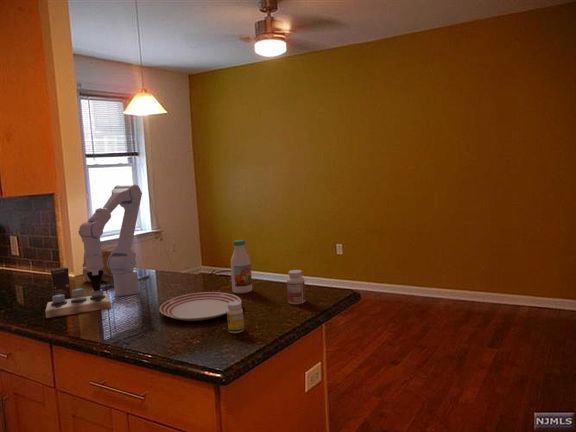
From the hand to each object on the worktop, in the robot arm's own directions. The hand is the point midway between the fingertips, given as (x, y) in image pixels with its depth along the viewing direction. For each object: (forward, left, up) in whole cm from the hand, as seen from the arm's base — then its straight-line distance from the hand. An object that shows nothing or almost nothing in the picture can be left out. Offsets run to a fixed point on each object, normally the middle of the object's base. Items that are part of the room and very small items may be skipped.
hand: (97, 290), depth 175 cm
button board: (+6, +1, -5) cm, 9 cm away
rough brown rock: (-6, -39, -6) cm, 40 cm away
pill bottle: (-64, +38, -6) cm, 75 cm away
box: (+13, -19, -6) cm, 24 cm away
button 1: (+13, 0, -2) cm, 13 cm away
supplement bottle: (-37, +54, -6) cm, 66 cm away
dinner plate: (-32, +30, -6) cm, 44 cm away
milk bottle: (-52, +13, -6) cm, 54 cm away
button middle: (+6, 0, -1) cm, 7 cm away
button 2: (0, 0, -2) cm, 2 cm away
